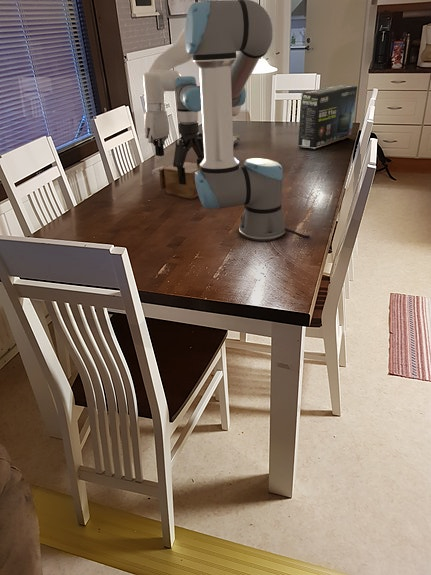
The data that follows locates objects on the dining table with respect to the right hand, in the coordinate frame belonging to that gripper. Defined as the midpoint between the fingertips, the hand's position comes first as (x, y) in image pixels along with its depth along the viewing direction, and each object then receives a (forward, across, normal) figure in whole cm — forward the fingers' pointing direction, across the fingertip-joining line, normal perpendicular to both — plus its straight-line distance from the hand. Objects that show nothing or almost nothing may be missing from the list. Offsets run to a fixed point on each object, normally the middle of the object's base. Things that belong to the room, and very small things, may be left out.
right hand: (191, 179), depth 182 cm
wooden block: (+6, 0, -3) cm, 6 cm away
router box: (+6, -98, +14) cm, 99 cm away
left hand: (-8, 0, -16) cm, 17 cm away
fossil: (+6, -69, -33) cm, 77 cm away
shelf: (+5, 0, -10) cm, 11 cm away
